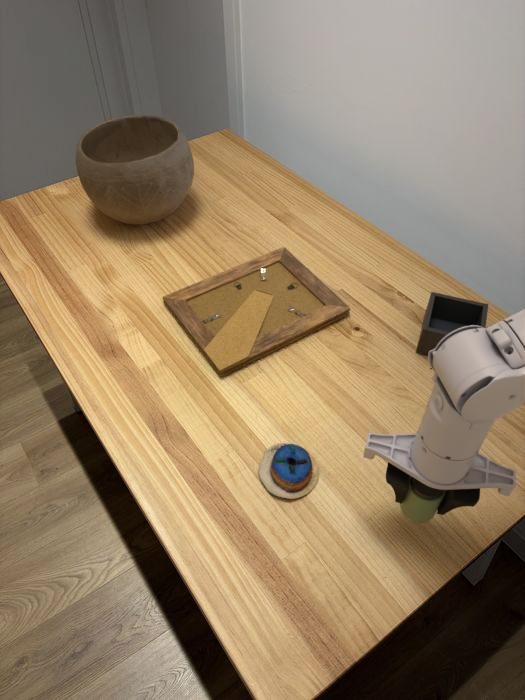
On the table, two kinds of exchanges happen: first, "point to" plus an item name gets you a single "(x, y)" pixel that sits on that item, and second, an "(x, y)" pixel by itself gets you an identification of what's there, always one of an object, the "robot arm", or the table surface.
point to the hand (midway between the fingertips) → (420, 500)
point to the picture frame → (254, 309)
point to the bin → (448, 319)
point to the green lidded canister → (421, 501)
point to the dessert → (288, 471)
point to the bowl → (135, 167)
